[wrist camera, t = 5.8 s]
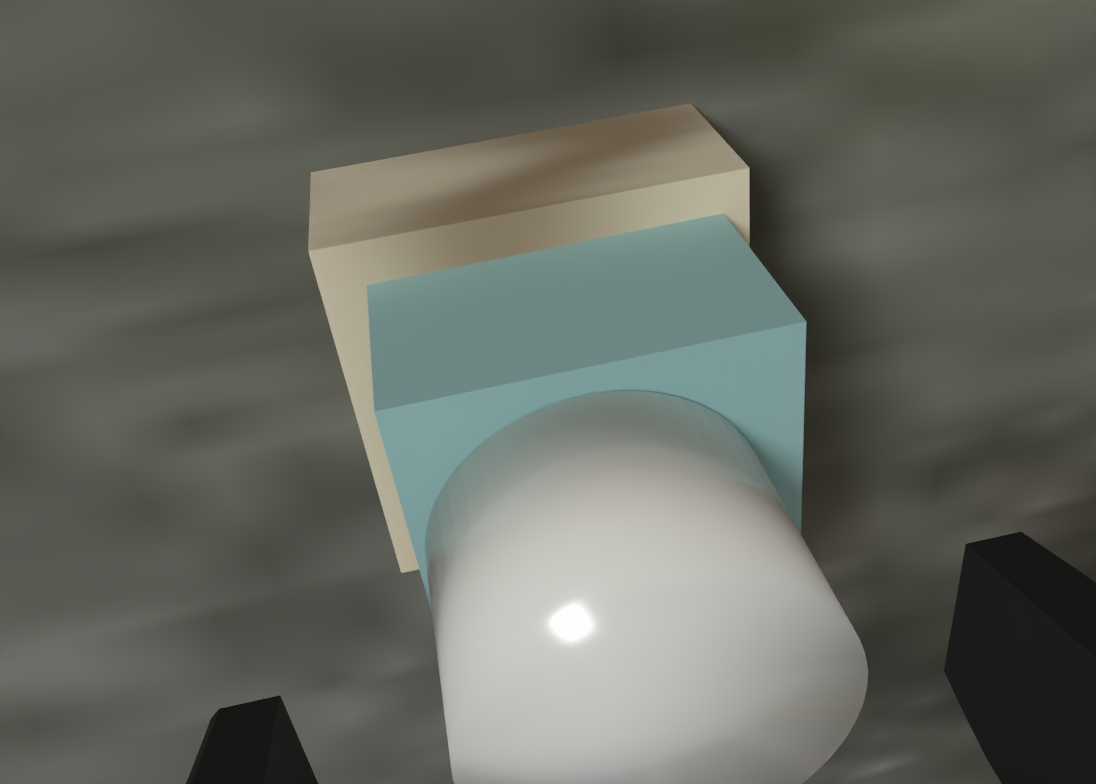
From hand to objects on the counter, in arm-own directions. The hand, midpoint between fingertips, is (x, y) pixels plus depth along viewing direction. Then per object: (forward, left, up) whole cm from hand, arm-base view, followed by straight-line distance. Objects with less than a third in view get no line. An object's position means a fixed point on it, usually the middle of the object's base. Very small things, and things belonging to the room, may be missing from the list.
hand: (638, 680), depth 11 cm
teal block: (0, 0, -6) cm, 6 cm away
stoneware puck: (0, 0, -2) cm, 3 cm away
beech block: (0, 0, -8) cm, 9 cm away
